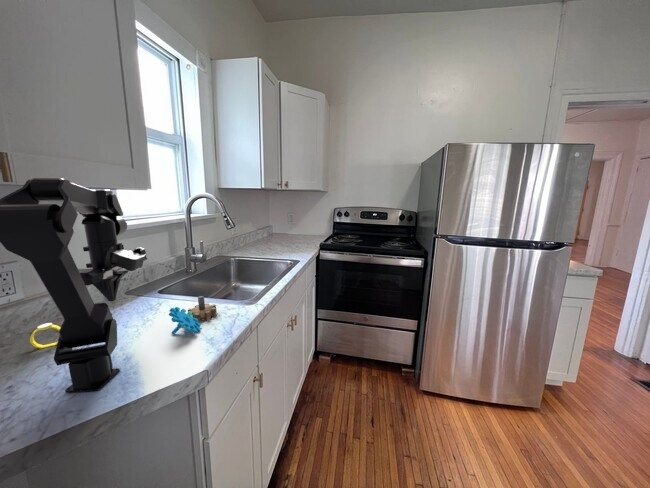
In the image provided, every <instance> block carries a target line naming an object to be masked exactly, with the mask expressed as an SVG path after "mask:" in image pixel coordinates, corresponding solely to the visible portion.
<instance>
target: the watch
mask: <svg viewBox="0 0 650 488" xmlns="http://www.w3.org/2000/svg"><path fill="white" fill-rule="evenodd" d="M60 328H61V326H59V325H58V324H57V325H56V324H53V323H52V322H46V323H43V324H40V325H38V326H36V329H35V330H34V331H33V332H32V333H31V335H30V337H29V343H30V344H31V345H32V346H33V347H35V348H36V349H40V350H41V349H45V348H46V349H47V348H49V347H53V346H57V343H58V340H57V341H56V342H52V343H47V344H44V345H43V344H40V343H38V342H36V340H35V335H36V333H37V332H40V331H45V330H48V329H55V330H56V331H58V332H59V330H60Z"/></svg>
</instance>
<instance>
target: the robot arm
mask: <svg viewBox="0 0 650 488" xmlns="http://www.w3.org/2000/svg"><path fill="white" fill-rule="evenodd" d="M40 202H48V203H43V204H42V203H40ZM59 204H60V205H61V206H60V205H59ZM78 215H81V217H83V218H82V220H81V225H83V226H84V233H85V237H86V244H87V246H83V247H82V249H83V250H82V251H83V252H88V255H89V261H90V262H88V263H86V264H85V267H86V268H78V266H77V264H76V262H75V260H74V258H73V256H72V254H71V252H70V250H69V244H70V242H71V240H72V237H73V235H74V233H75V232H74V225H75V223H76V220H77V219H78ZM123 216H124V212H123V209H122V207H121V205H120V202H119V200H118V197H117V195H116V194H115V193H114V192H113V191H112V190H111V189H109V188H108V189H91V188H88V187H85V186H82V185H78V184H76V183H74V182H71V181H70V180H68V179H65V178H61V177H60V178H57V177H54V178H53V177H33V178H32V179H31V178H30V179H28V180H26V182H25V183H24V184H23V186H22V187H20V188H19V189H16V190H14V191H13V192H10V193H9V194H6V195H5V196H3V197H1V198H0V245H1V246H2V247H4V249H5V250H7V251H8V252H10V253H13V254H14V255H17V256H18V257H21V258H22V259H25V260H28V261H29V262H30V264H31V266H32V268H33V269H34V271H35V272H36V274H37V275H38V277H39V279H40V281H41V283H42V284H43V286H44V288H45V289H46V291H47V293H48V295H49V296H50V297H51V300H52V301H53V302H54V304H55V307H56V308H57V310H58V311H59V313H60V315H61V316H62V318H63V322H62V324H61V326H60V327H61V328H60V330H59V331H58V335H59V336H58V340H57V341H58V343H57V345H56V347H55V353H54V355H53V361H54V363H55V364H56V366H62V365H65V364H68V365H67V366H68V371H69V375H70V380H71V384H69V386H68V387H66V388H65V389H64V392H65V393H67V394H68V393H80V392H83V393H84V392H85V393H86V392H97V391H100V390H101V389H103V387H104V386H106V385H107V384H108V382H110V381H111V380H112V379H113V378H114V377H115V376H116V375H117V374H118V373H119V372H120V371H121V369H120V368H113V367H114V366H113V361H112V353H113V352H114V351H115V348H116V347H117V346H118V323H117V320H116V319H115V318H114V317H113V313H112V312H111V310H110V308H109V304H107V303H106V302H101V303H99V302H98V303H95V302H94V300H93V298H92V296H91V294H90V292H89V289H88V287H87V286H91V285H92V286H94V287H95V288H96V289H97V290H98V291H99V292H100V293H101V295H102V296H104V298H105V299H106V300H107V302H115V301H116V300H117V299H116V298H117V295H118V291H119V287H120V283H121V280H122V279H123V277H124V276H126V274H129V272H134V271H136V270H138V269H141V268H143V264H144V262H145V261H146V260H148V257H147V252H146V249H145V248H144V247H141V246H140V247H136V248H134V249H130V250H127V249H125V248H124V244H123V242H121V243H120V242H119V243H118V236H120V235H123V234H124V233H126V231H127V229H128V223H127V222H126V219H124V218H123ZM102 343H103V344H102ZM90 345H93V346H90ZM85 346H86V347H85ZM79 347H80V348H79ZM81 347H82V348H81ZM76 348H77V349H76Z"/></svg>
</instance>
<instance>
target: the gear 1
mask: <svg viewBox="0 0 650 488" xmlns="http://www.w3.org/2000/svg"><path fill="white" fill-rule="evenodd" d="M180 308H181V307H178V306H175V307H171V308H169V313H168V316H169V317H171V319H170V320H171V322H172V323H177V324H176V327H175V328H174V329H173V330H172V331H171V334H172V335H175V334H176V333H177V332H179V330H180V329H181V328H183V327H185V328H184V331H185V332H187V333H189V332H191V333H192V334H196V333H198V332H200V331H201V330H202V328H201V325H202V324H201V323H200V322H197V321H198V319H197V318H193V315H192V312H191V311H189V312H188V311H187V310H186V309H184V308H181V309H180Z"/></svg>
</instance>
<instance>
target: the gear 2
mask: <svg viewBox="0 0 650 488" xmlns="http://www.w3.org/2000/svg"><path fill="white" fill-rule="evenodd" d="M197 301H198V304H196V305H194V306H193V307H192V308H191V307H190V308H188V309H187V313H188V312H189V311H191V312H192V315H193V318H197V319H198V321H197V323H200V322H201V321H204V320H205V321H210V320H211V319H212V317H217V315H218V313H217V305H216V304H209V303H208V302H207V303H205V296H204V295H200V296H197Z"/></svg>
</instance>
